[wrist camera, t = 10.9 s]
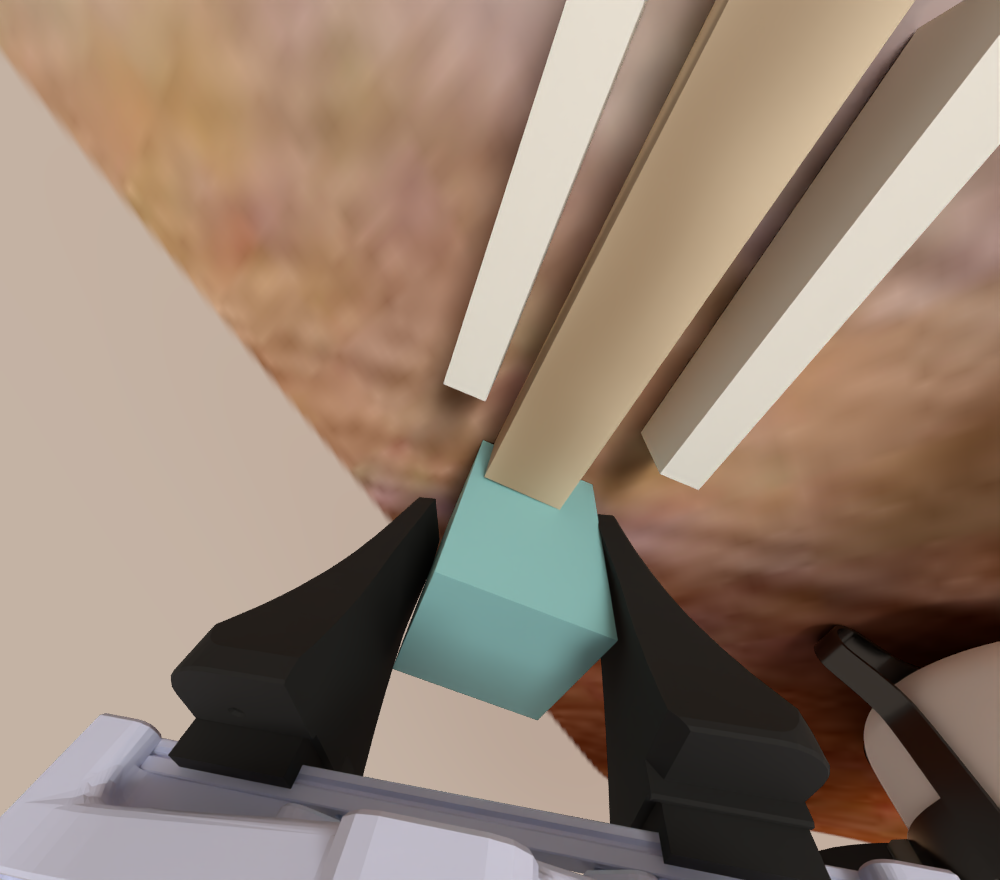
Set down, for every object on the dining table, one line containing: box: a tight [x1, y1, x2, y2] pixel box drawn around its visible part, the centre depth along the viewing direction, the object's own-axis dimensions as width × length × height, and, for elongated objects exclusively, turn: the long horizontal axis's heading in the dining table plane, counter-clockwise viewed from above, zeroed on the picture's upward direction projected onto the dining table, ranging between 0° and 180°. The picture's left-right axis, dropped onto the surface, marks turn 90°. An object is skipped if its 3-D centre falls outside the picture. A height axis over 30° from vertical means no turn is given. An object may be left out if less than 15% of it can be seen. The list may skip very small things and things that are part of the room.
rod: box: [484, 0, 915, 510], centre depth 9 cm, size 3×14×3 cm, turn 156°
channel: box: [444, 0, 1000, 490], centre depth 8 cm, size 8×10×2 cm
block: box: [392, 440, 618, 720], centre depth 11 cm, size 4×4×6 cm
